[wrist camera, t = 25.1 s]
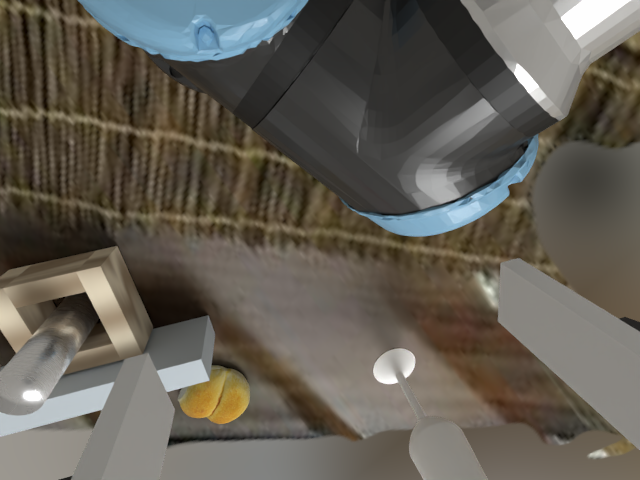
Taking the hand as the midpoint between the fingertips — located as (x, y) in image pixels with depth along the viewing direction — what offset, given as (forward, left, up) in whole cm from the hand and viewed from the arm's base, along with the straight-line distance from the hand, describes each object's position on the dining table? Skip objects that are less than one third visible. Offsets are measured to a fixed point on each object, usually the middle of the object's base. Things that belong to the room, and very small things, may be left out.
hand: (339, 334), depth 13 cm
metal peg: (+10, -24, -29) cm, 39 cm away
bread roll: (+27, -14, -29) cm, 42 cm away
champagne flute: (+32, +11, -29) cm, 44 cm away
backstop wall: (+17, -24, -29) cm, 41 cm away
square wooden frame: (+10, -24, -29) cm, 39 cm away
